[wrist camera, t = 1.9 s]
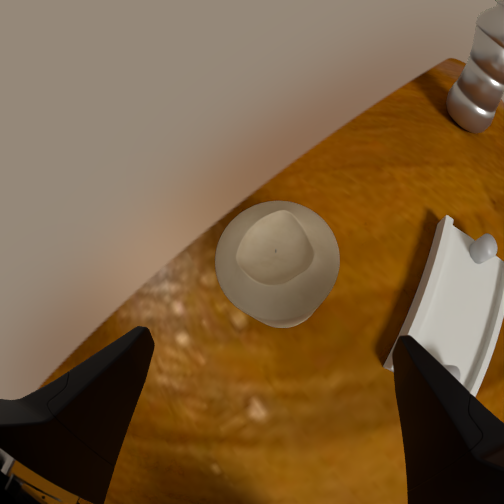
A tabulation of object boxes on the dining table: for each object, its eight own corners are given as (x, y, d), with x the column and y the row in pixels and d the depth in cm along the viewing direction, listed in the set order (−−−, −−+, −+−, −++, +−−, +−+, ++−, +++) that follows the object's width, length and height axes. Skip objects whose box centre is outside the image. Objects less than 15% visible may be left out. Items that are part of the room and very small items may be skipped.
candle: (263, 244, 21) (240, 169, 12) (330, 270, 20) (361, 209, 10) (233, 310, 20) (182, 283, 10) (303, 339, 18) (315, 341, 9)
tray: (459, 402, 14) (479, 407, 12) (382, 366, 17) (397, 370, 14) (502, 268, 17) (520, 259, 14) (437, 223, 19) (453, 208, 17)
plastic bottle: (432, 100, 24) (472, -27, 5) (467, 105, 23) (510, -3, 4) (457, 138, 22) (519, 3, 3) (490, 141, 21) (552, 30, 2)
